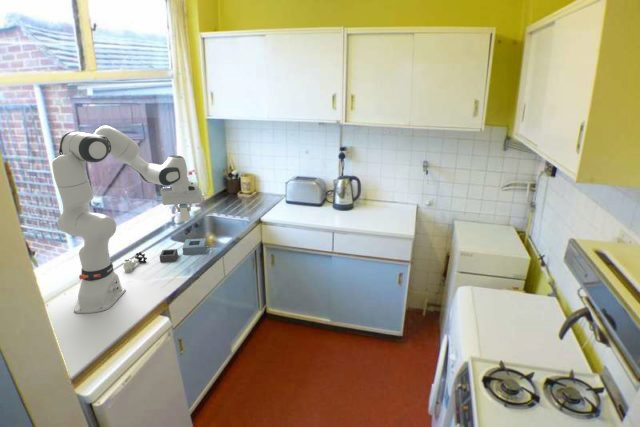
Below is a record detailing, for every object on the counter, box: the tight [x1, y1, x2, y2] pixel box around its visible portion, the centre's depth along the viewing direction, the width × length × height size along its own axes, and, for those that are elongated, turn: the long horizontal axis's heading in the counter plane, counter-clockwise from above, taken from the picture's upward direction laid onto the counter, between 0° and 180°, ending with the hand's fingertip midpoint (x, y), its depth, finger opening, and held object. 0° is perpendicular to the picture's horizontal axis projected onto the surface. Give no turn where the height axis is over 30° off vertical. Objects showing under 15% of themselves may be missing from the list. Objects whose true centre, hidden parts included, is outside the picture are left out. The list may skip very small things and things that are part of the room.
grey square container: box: [159, 248, 179, 263], centre depth 204 cm, size 7×7×4 cm
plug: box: [178, 204, 191, 223], centre depth 205 cm, size 4×4×9 cm
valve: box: [122, 251, 148, 273], centre depth 196 cm, size 7×7×12 cm
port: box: [181, 237, 208, 256], centre depth 214 cm, size 11×11×5 cm
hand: (184, 211), depth 205 cm, fingers closed on plug, 4 cm apart
